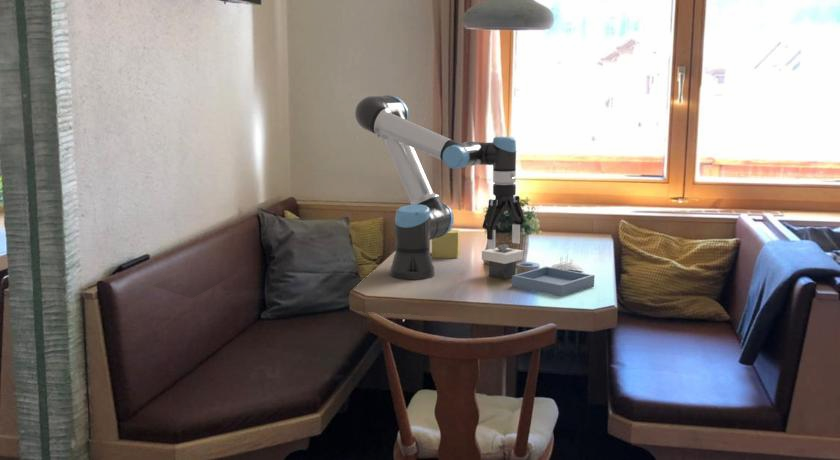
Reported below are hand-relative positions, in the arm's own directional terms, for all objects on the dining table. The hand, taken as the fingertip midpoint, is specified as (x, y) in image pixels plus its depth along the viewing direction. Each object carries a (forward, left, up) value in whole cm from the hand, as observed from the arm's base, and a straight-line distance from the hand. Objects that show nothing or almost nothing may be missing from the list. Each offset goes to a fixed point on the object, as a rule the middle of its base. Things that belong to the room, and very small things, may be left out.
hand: (503, 246), depth 291 cm
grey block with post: (0, 0, -11) cm, 11 cm away
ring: (0, 0, -5) cm, 5 cm away
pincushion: (+23, -10, -11) cm, 28 cm away
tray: (+1, -20, -11) cm, 22 cm away
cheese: (+13, +37, -11) cm, 41 cm away
